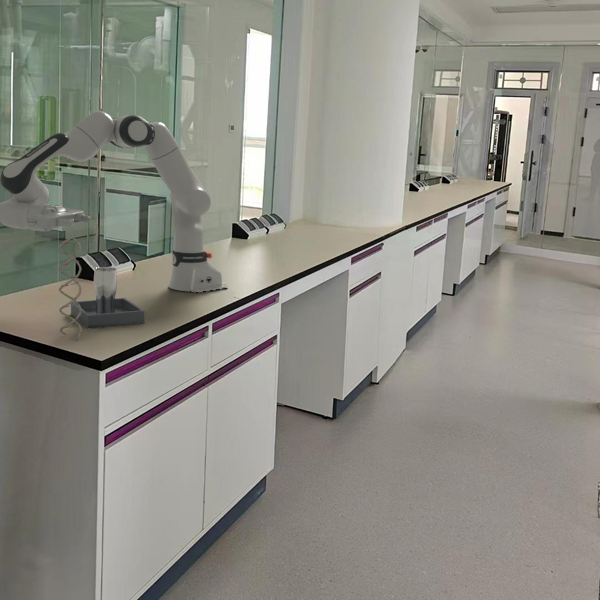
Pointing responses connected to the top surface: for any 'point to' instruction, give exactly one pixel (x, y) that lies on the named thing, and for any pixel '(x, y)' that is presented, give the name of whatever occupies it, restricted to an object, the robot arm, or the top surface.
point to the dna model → (71, 284)
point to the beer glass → (105, 289)
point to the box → (108, 314)
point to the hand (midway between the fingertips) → (81, 221)
